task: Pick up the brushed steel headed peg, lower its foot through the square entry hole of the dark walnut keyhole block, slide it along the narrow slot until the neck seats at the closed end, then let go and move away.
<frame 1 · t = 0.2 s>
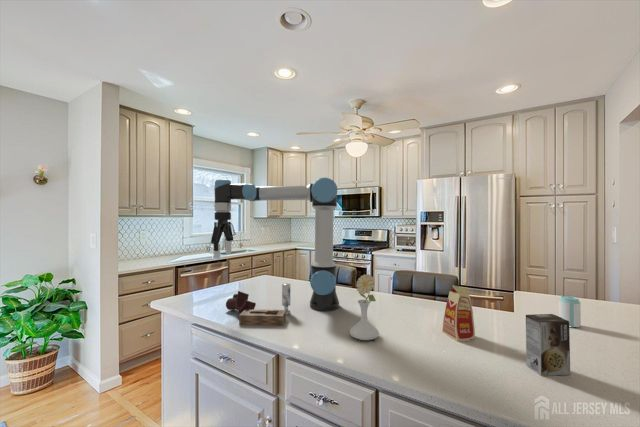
hand: (222, 255, 141), 28 cm above the counter, tool pointing down, fingers open, 13 cm apart
grey cardboard box: (547, 370, 89), on the counter
keyhole block: (263, 321, 130), on the counter
flower in vase: (365, 338, 113), on the counter
dark brown lumpy piece: (241, 312, 141), on the counter, touching keyhole block
milk carton: (458, 335, 115), on the counter
can: (569, 325, 125), on the counter
steel peg: (286, 313, 140), on the counter
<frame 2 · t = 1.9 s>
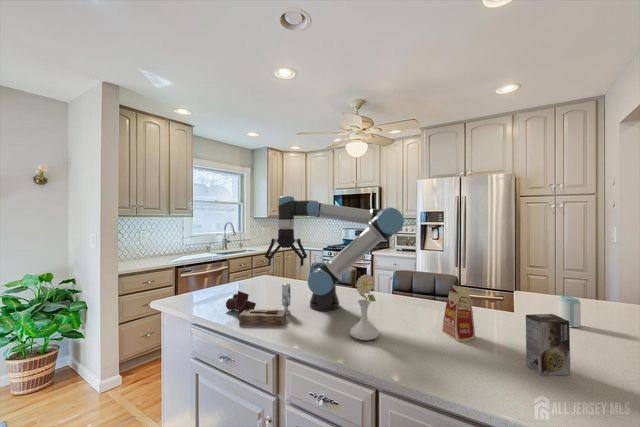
hand: (285, 272, 140), 20 cm above the counter, tool pointing down, fingers open, 13 cm apart
nothing on the counter moved.
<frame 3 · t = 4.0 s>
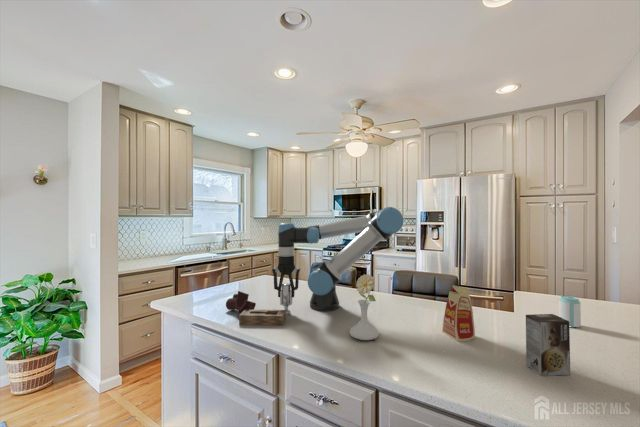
hand: (286, 303, 140), 5 cm above the counter, tool pointing down, fingers closed on steel peg, 4 cm apart
steel peg: (286, 313, 140), on the counter, touching gripper
everything else where it was.
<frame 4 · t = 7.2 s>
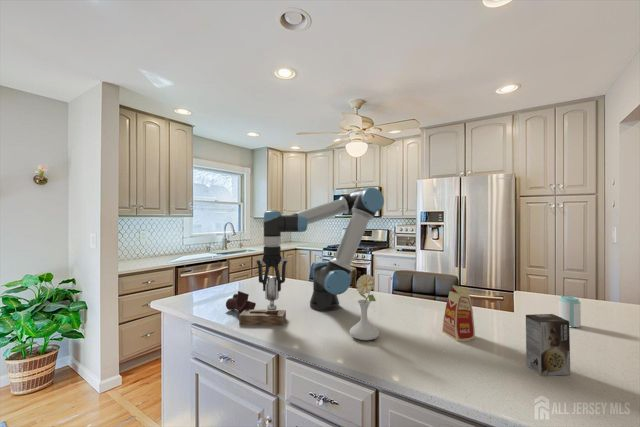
hand: (272, 298, 130), 10 cm above the counter, tool pointing down, fingers closed on steel peg, 4 cm apart
steel peg: (272, 308, 130), point 6 cm above the counter, touching gripper
everything else where it was.
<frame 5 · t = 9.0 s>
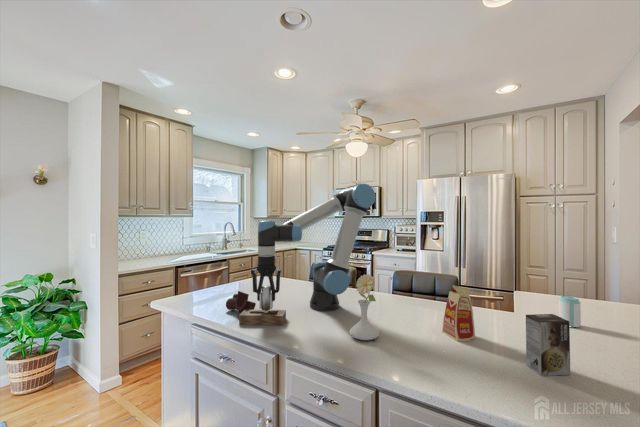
hand: (266, 308, 130), 6 cm above the counter, tool pointing down, fingers closed on steel peg, 4 cm apart
steel peg: (266, 318, 130), point 1 cm above the counter, touching gripper
everything else where it was.
when the fingers open (6 cm above the counter, at t = 10.5 s): steel peg stays where it is, resting on keyhole block.
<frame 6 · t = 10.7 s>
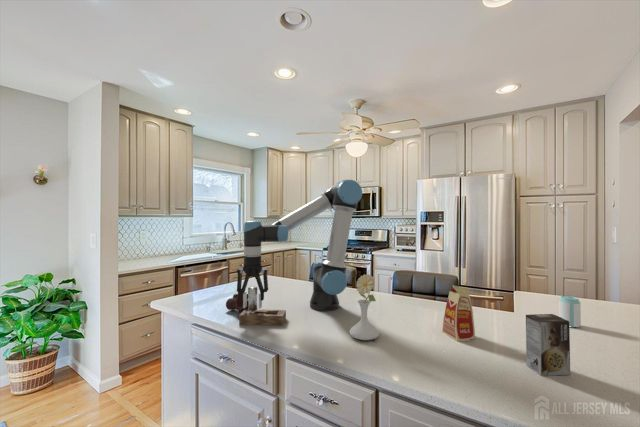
hand: (252, 307, 130), 6 cm above the counter, tool pointing down, fingers open, 6 cm apart
steel peg: (252, 319, 130), point 1 cm above the counter, touching keyhole block
everything else where it was.
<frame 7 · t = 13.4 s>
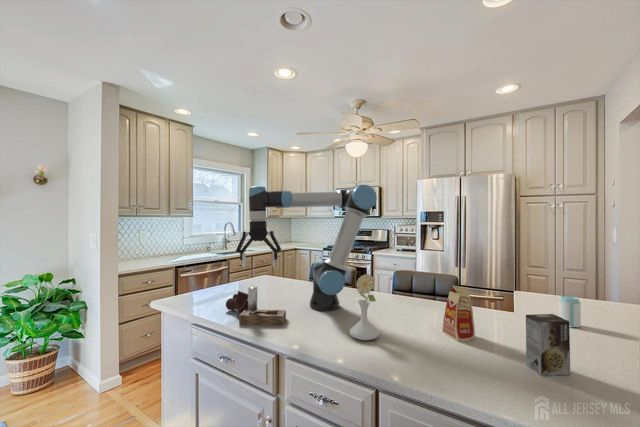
hand: (259, 267, 133), 24 cm above the counter, tool pointing down, fingers open, 13 cm apart
nothing on the counter moved.
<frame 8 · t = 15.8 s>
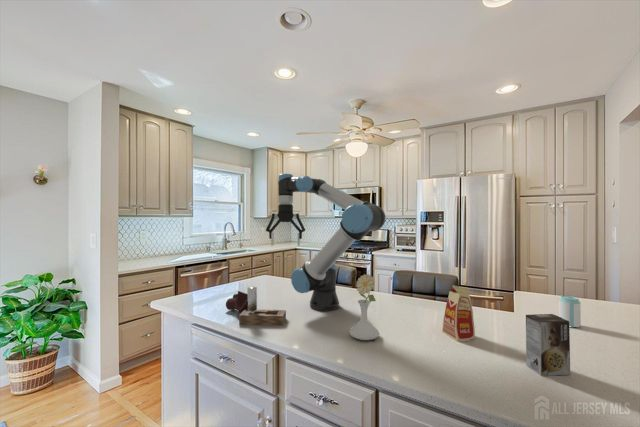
hand: (285, 245, 151), 32 cm above the counter, tool pointing down, fingers open, 13 cm apart
nothing on the counter moved.
at the end: steel peg 0.4 cm from the target spot on the keyhole block, point 1.0 cm above the keyhole block's base; steel peg tilted 1°; the gripper is holding nothing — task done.
